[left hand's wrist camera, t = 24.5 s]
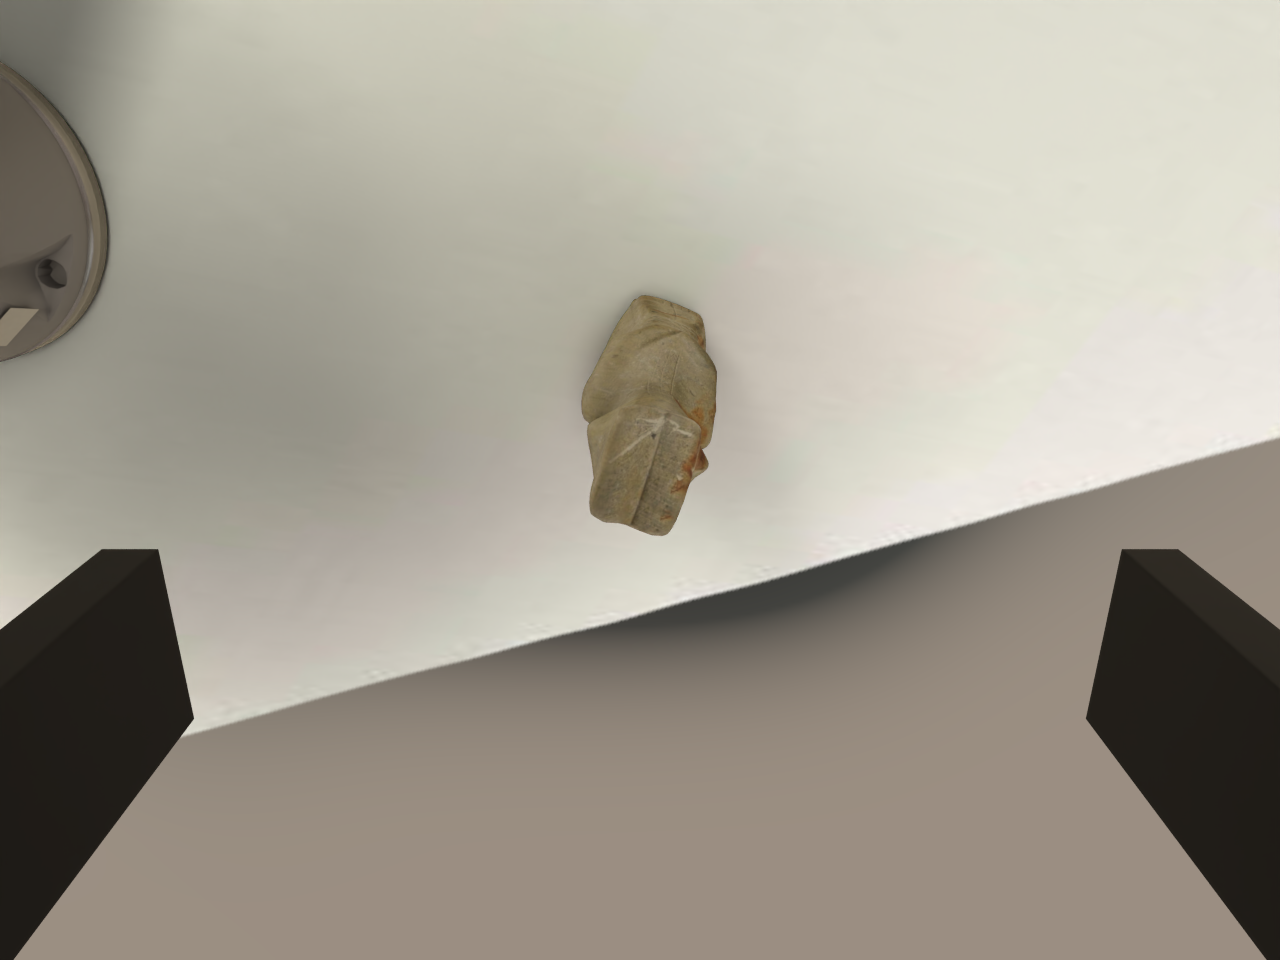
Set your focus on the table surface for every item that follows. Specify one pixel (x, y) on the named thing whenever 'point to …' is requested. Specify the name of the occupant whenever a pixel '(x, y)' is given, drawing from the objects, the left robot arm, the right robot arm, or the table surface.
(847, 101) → the table surface
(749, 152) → the table surface
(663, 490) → the sculpture
